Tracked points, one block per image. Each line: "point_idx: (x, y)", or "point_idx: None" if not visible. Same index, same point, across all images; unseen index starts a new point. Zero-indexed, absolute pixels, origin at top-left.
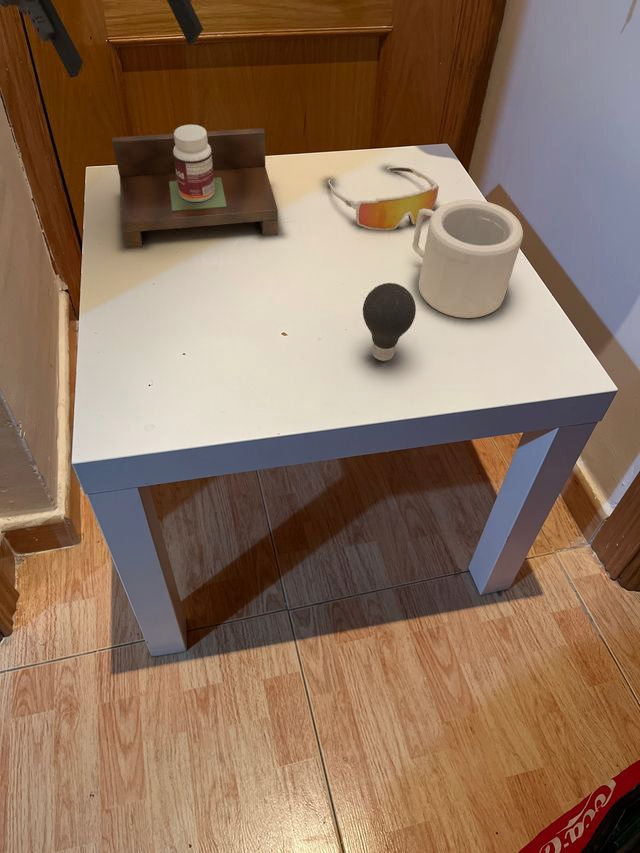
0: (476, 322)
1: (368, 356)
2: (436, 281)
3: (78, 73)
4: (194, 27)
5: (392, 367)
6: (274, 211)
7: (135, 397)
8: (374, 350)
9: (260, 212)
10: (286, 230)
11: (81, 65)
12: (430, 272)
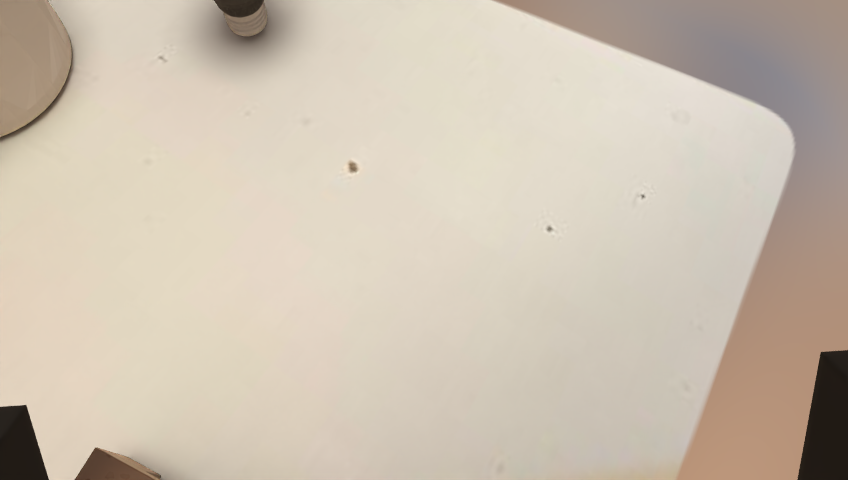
0: None
1: (266, 44)
2: (41, 26)
3: (801, 461)
4: (17, 431)
5: None
6: (104, 451)
7: (677, 185)
8: (264, 12)
9: (139, 470)
10: None
11: (816, 383)
12: (30, 39)
